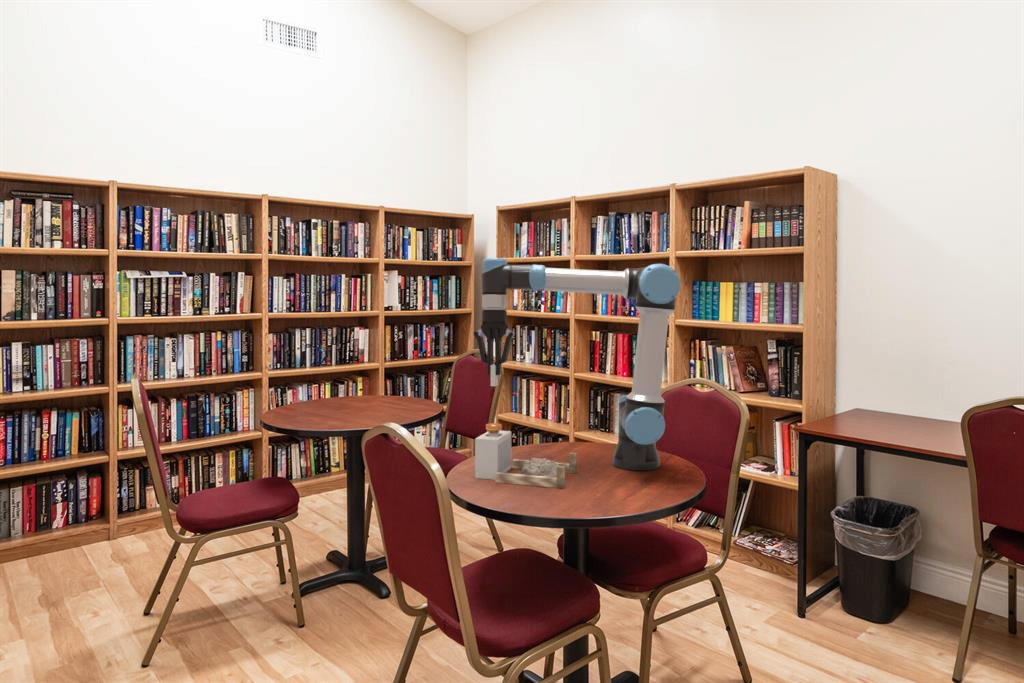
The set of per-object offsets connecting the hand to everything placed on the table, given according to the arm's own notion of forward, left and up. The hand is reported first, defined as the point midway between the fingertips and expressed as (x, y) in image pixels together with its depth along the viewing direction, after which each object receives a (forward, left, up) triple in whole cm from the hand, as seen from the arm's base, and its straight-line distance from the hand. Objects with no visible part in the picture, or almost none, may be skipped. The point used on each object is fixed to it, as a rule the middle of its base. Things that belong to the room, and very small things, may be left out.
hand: (494, 385), depth 204 cm
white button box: (0, 0, -27) cm, 27 cm away
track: (-14, 0, -27) cm, 31 cm away
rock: (-15, +1, -28) cm, 32 cm away
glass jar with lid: (0, 0, -21) cm, 21 cm away
